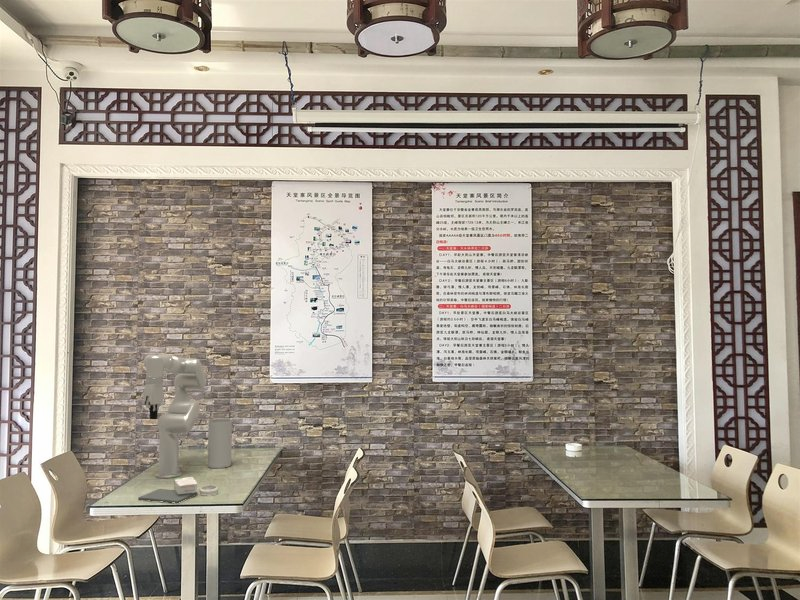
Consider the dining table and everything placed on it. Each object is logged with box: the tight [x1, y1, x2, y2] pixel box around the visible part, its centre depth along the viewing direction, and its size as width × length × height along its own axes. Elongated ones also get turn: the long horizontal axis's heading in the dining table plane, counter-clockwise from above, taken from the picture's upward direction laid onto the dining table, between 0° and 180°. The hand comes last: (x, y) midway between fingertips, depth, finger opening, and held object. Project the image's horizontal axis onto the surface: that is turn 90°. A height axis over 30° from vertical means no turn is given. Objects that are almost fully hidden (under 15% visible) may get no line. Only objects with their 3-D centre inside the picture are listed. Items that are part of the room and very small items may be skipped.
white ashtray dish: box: [199, 485, 219, 496], centre depth 282 cm, size 8×8×3 cm
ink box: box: [173, 476, 198, 495], centre depth 280 cm, size 9×5×15 cm
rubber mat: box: [138, 488, 198, 504], centre depth 275 cm, size 15×20×1 cm
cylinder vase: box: [207, 418, 233, 469], centre depth 337 cm, size 12×12×25 cm
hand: (153, 418), depth 296 cm, fingers closed
